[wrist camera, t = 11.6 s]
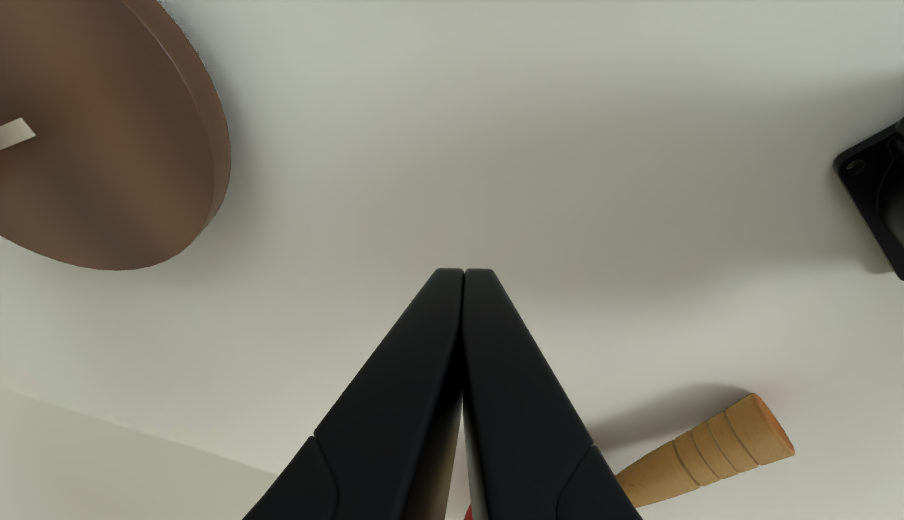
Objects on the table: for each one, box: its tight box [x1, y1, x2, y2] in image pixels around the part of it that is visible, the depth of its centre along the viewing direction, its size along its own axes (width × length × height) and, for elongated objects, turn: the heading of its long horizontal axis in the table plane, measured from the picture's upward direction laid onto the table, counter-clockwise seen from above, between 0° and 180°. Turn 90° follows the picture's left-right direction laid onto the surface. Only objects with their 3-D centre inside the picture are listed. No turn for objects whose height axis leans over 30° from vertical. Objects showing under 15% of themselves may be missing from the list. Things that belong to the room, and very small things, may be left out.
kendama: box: [464, 393, 795, 520], centre depth 28 cm, size 8×6×18 cm
